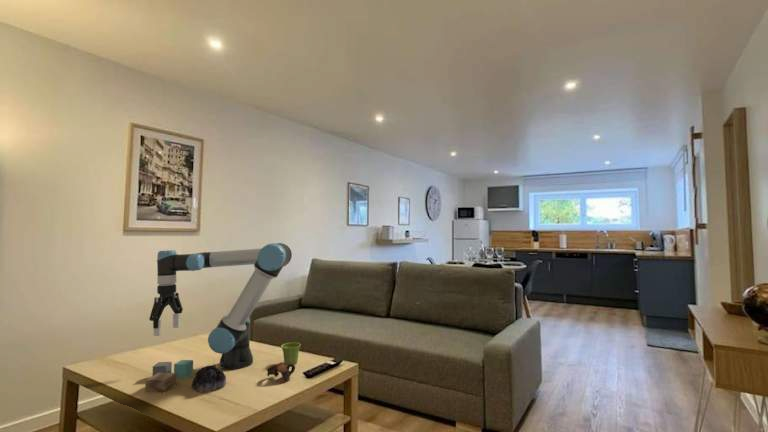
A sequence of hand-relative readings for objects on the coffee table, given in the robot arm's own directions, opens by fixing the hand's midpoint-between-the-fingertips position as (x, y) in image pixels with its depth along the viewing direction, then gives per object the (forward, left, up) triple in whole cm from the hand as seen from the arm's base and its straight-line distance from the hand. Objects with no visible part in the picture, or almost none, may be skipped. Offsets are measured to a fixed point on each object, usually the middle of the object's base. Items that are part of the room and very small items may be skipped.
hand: (167, 331), depth 172 cm
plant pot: (-52, -18, -19) cm, 58 cm away
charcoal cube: (-1, +4, -19) cm, 20 cm away
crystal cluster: (-27, +12, -19) cm, 35 cm away
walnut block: (-8, +15, -19) cm, 26 cm away
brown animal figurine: (-54, +2, -19) cm, 57 cm away
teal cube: (-9, +1, -19) cm, 21 cm away
